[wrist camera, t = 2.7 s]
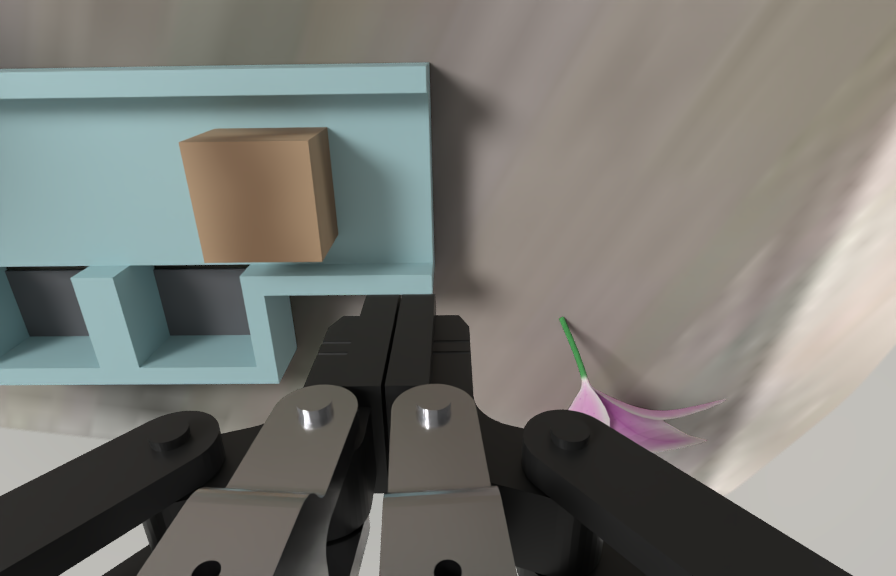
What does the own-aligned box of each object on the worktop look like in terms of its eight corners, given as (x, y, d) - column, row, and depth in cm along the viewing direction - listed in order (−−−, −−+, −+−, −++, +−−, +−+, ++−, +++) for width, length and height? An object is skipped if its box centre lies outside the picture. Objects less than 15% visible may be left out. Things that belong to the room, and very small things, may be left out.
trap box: (429, 62, 25) (425, 66, 22) (436, 347, 31) (434, 382, 28) (-176, 71, 25) (-267, 76, 22) (-48, 350, 31) (-104, 385, 28)
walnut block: (327, 126, 24) (307, 140, 21) (338, 234, 26) (322, 261, 23) (214, 128, 24) (178, 142, 21) (234, 235, 26) (204, 262, 23)
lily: (440, 395, 34) (482, 559, 28) (489, 266, 25) (565, 464, 19) (606, 376, 37) (674, 518, 32) (699, 258, 29) (816, 423, 23)
